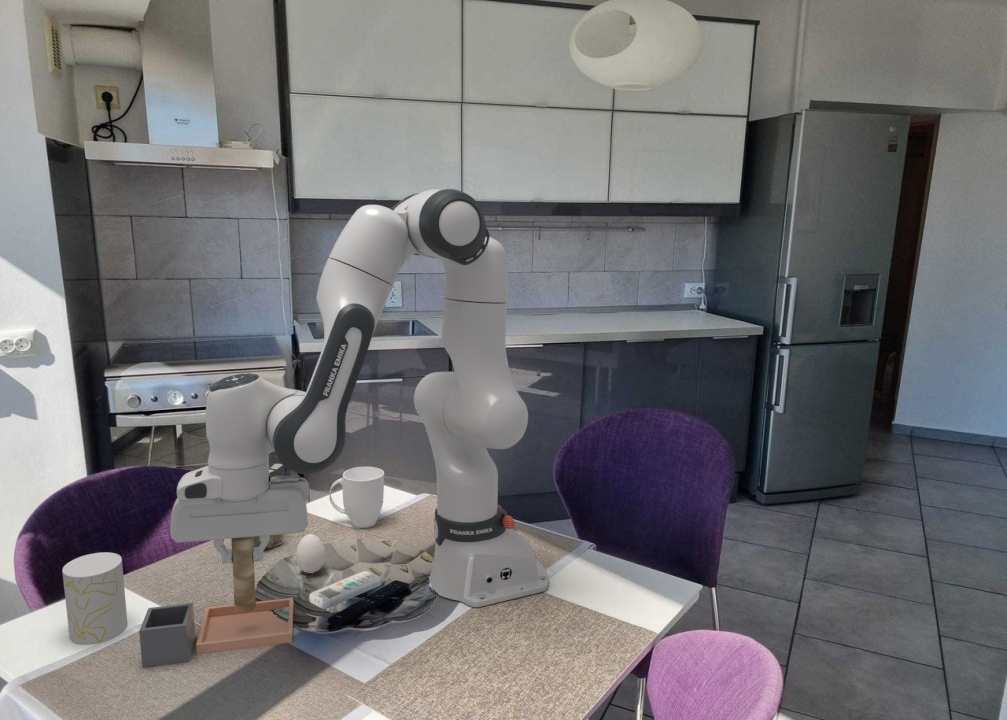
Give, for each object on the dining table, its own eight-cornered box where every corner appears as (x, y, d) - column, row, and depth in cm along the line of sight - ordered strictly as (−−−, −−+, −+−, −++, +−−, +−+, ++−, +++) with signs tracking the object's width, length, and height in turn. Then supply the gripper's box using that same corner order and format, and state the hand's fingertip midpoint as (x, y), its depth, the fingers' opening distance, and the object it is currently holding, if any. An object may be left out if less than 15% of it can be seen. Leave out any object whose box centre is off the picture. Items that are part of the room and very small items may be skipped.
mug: (385, 514, 162) (385, 465, 159) (383, 532, 154) (382, 480, 151) (333, 515, 161) (332, 465, 158) (327, 533, 152) (326, 481, 150)
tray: (293, 608, 123) (293, 597, 122) (292, 645, 112) (291, 633, 112) (206, 618, 119) (205, 607, 119) (196, 657, 109) (196, 645, 108)
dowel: (256, 600, 117) (253, 532, 114) (255, 610, 114) (252, 540, 111) (235, 602, 116) (232, 533, 114) (233, 613, 113) (230, 542, 111)
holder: (195, 640, 113) (193, 602, 112) (189, 665, 107) (186, 625, 106) (151, 646, 111) (148, 607, 110) (142, 671, 105) (139, 630, 104)
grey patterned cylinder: (62, 651, 110) (54, 579, 107) (78, 622, 117) (71, 555, 115) (121, 644, 112) (114, 573, 109) (132, 616, 119) (127, 550, 117)
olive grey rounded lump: (264, 563, 143) (255, 527, 138) (235, 547, 147) (226, 511, 142) (298, 534, 150) (291, 499, 145) (270, 519, 154) (262, 484, 149)
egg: (308, 582, 132) (307, 543, 130) (290, 573, 135) (289, 535, 133) (331, 571, 136) (330, 534, 134) (313, 563, 139) (312, 526, 138)
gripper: (308, 467, 116) (310, 546, 119) (172, 475, 111) (178, 557, 114) (308, 481, 110) (310, 563, 113) (165, 490, 105) (170, 576, 108)
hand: (243, 560), depth 113 cm, fingers closed on dowel, 3 cm apart
